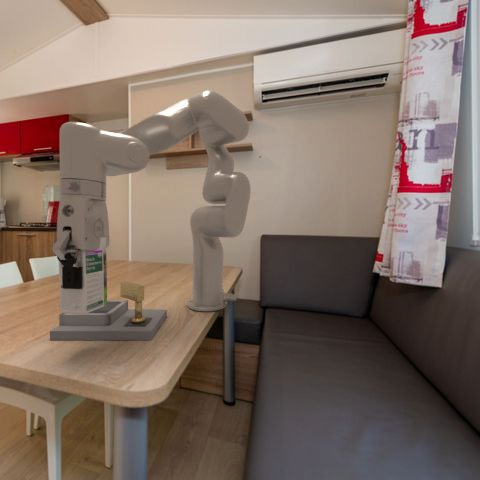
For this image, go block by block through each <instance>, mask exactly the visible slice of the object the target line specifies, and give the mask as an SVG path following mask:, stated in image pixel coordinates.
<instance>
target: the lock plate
mask: <svg viewBox="0 0 480 480" xmlns="http://www.w3.org/2000/svg"><path fill="white" fill-rule="evenodd" d="M167 312H168V310H167V309H150V308H149V309H143V308H142V316H145V317H146V320H145V321H144V322H141V323H132V322H131V318H132V317H134V316H135V308H134V309H133V308H132V309H129V299H127V300H123V299H121V300H120V299H117V300H116V299H115V300H113V299H111V300H108V299H107V306H105V307H102V308H99V309H97V310H94V311H92V312H90V313H88V314H86V315H79V314H70V313H64V312H60V313H59V315H58V323H59V324H58V326H56V327H54V328H53V329H51V330H49V340H50V341H152V340H153V338H154V337H155V335H156V334H157V332H158V331H159V329H160V327H161V326H162V325H163V323H164V321H166V318H168V317H167V316H168V314H167Z"/></svg>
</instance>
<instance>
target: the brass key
mask: <svg viewBox="0 0 480 480" xmlns="http://www.w3.org/2000/svg"><path fill="white" fill-rule="evenodd" d="M120 297H121V298H124V299H127V300H130V301H132V302H133V301H134V309H135V316H134V317H132V318H131V322H132V323H141V322H144V321H145V320H146V317H145V316H142V309H143V301H145V285H143V284H139V283H135V282H132V281H131V282H130V281H123V282H120Z"/></svg>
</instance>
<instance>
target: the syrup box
mask: <svg viewBox="0 0 480 480" xmlns="http://www.w3.org/2000/svg"><path fill="white" fill-rule="evenodd" d="M100 238H101V241H100V248H99V249H97V250H95V251H91V252H83V251H82V250H81V262H80V266H79V267H82V288H80V289H64V288H63V287H62V267H61V266H60V261H59V260H58V280H59V281H58V282H59V283H58V284H59V285H58V287H59V289H58V290H59V310H60V311H59V312H60V313H63V312H64V313H70V314H79V315H86V314H88V313H90V312H92V311H94V310H97V309H99V308H102V307H105V306H107V300H108V269H107V268H108V266H107V248H106V237H100ZM70 249H77V248H76V247H73V248H70ZM71 255H72V256H73V258H75V254H71Z"/></svg>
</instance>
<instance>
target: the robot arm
mask: <svg viewBox="0 0 480 480" xmlns="http://www.w3.org/2000/svg"><path fill="white" fill-rule="evenodd" d="M249 131H250V125H249V120H248V118H247V116H246V115H245V113H244V112H243V111H242V110H240V108H238V106H236V105H234V104H233V103H232V102H231V101H229V100H228V99H227V98H226V97H224V96H223V95H221V94H219V93H218V92H216V91H213V90H210V89H209V90H208V89H207V90H203V91H201V92H198V93H197V94H194V95H191V96H189V97H186V98H183V99H181V100H180V101H177V102H176V103H173V104H172V105H170V106H168V107H166V108H163V109H161V110H160V111H157V112H156V113H154V114H151V115H149V116H148V117H145V118H144V119H142V120H141V121H139V122H138V123H136V124H133V125H132V126H130V127H128V128H126V129H124V130H122V131H120V132H118V133H117V132H112V131H107V130H104V129H101V128H99V127H97V126H94V125H91V124H89V123H84V122H78V121H67V122H65V123H63V124H62V125H61V126H60V128H59V205H58V210H57V219H56V220H57V223H56V241H55V242H54V244H53V245H52V247H51V250H52V251H53V253H54V255H56V258H57V260H58V262H59V261H60V266H61V267H62V287H63V288H64V289H80V288H82V267H79V266H80V262H81V250H82V251H83V252H91V251H95V250H97V249H99V248H100V241H101V238H100V237H106V249H107V248H108V247H109V246H110V226H109V225H110V224H109V213H108V207H107V177H116V176H122V175H128V174H134V173H138V172H140V171H142V170H144V169H145V168H146V167H147V166H148V164H149V162H150V157H151V155H155V154H159V153H163V152H165V151H168V150H170V149H172V148H174V147H176V146H178V145H179V144H181V143H182V142H183V141H185V140H186V139H188V138H189V137H191V136H192V135H194V134H196V133H197V132H198V133H199V138H200V141H201V143H202V144H203V147H204V149H205V150H206V153H207V156H208V157H207V158H208V163H207V169H206V172H205V178H204V182H203V185H202V198H203V200H204V201H205V202H206V203H209V204H211V205H206V206H200V207H198V208H197V209H195V210H194V211H193V212H192V213H191V216H190V218H189V219H190V221H189V222H190V231H191V234H192V235H191V236H192V245H193V246H192V248H193V249H192V254H193V255H192V298H191V299H189V300H188V301H187V307H188V308H189V309H190V310H193V311H197V312H216V311H221V310H223V309H225V308H227V307H228V301H231V302H236V301H238V300H237V299H238V298H237V297H238V296H237V295H238V294H233V293H231V292H229V293H226V292H225V289H223V288H224V285H223V283H224V247H223V243H222V242H221V240H220V238H231V239H233V238H237V237H239V236H240V234H242V232H243V230H244V227H245V224H246V223H245V222H246V219H247V213H248V209H249V203H250V197H251V183H250V180H249V178H248V176H247V175H246V174H245V173H243V172H241V171H234V168H235V160H234V158H233V156H232V155H231V153H230V152H229V150H228V149H227V147H226V146H225V145H228V144H234V143H239V142H241V141H243V140H245V138H246V137H247V136H248V134H249ZM73 247H76V248H77V249H70V248H73ZM71 254H75V258H73V256H72V255H71Z"/></svg>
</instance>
